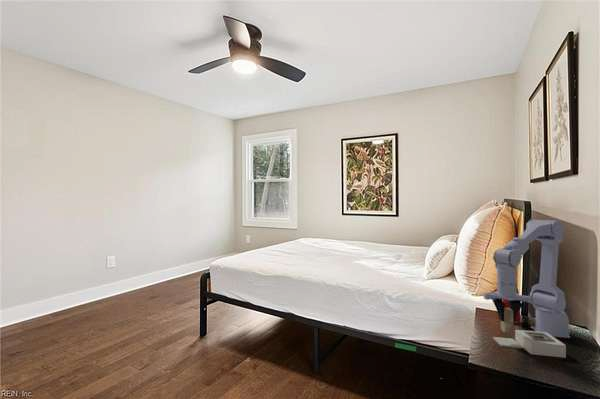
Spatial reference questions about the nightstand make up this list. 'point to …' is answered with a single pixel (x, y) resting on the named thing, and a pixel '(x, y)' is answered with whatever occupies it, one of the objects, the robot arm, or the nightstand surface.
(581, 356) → the nightstand surface
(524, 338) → the guard housing
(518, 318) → the beverage can
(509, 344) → the pad
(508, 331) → the wooden building block
